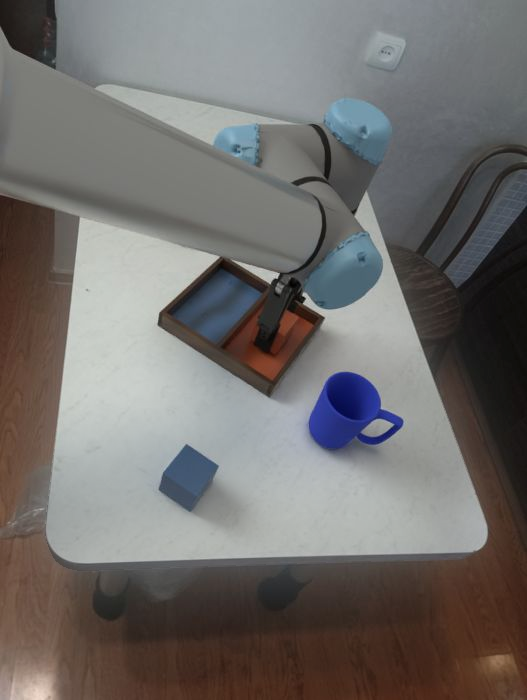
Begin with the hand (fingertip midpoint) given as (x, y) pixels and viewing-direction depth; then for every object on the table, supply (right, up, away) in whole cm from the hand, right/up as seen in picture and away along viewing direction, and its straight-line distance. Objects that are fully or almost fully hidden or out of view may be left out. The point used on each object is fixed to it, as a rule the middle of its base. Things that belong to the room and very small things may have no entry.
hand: (270, 336), depth 87 cm
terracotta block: (0, 0, 0) cm, 0 cm away
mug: (+10, -15, -6) cm, 19 cm away
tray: (-5, +2, +2) cm, 5 cm away
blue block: (-11, -20, -17) cm, 28 cm away
